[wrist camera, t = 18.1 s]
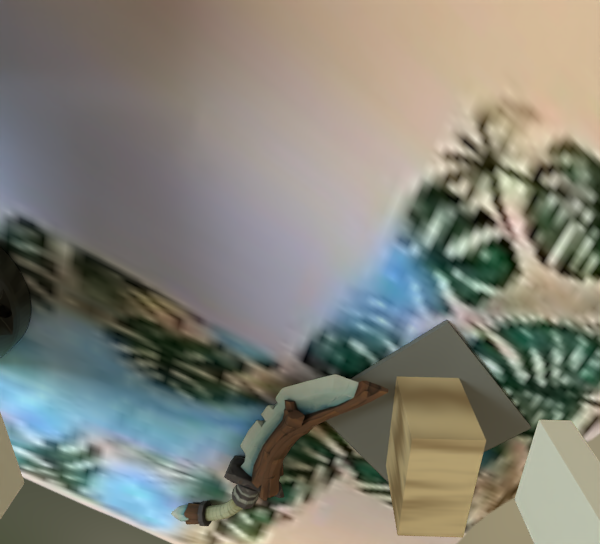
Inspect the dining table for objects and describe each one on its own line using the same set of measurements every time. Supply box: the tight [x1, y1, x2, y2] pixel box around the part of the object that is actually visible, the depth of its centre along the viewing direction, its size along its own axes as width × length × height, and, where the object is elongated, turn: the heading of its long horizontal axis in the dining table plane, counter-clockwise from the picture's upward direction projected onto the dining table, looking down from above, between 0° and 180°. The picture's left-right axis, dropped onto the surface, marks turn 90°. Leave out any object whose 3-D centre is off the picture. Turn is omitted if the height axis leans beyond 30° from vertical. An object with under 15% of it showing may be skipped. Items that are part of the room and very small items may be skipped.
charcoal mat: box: [326, 320, 531, 482], centre depth 48 cm, size 16×16×1 cm
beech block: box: [386, 377, 486, 537], centre depth 44 cm, size 8×6×12 cm
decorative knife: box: [171, 374, 388, 526], centre depth 49 cm, size 4×9×30 cm
